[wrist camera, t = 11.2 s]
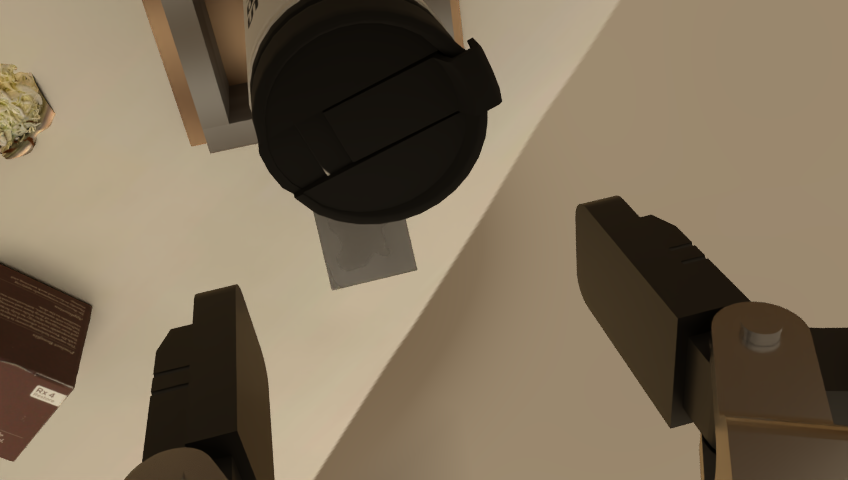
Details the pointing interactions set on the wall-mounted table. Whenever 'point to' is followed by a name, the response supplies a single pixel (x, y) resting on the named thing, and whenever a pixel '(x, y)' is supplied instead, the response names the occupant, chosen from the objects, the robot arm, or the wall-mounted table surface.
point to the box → (35, 355)
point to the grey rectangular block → (364, 251)
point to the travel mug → (365, 104)
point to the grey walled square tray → (223, 64)
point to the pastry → (20, 112)
